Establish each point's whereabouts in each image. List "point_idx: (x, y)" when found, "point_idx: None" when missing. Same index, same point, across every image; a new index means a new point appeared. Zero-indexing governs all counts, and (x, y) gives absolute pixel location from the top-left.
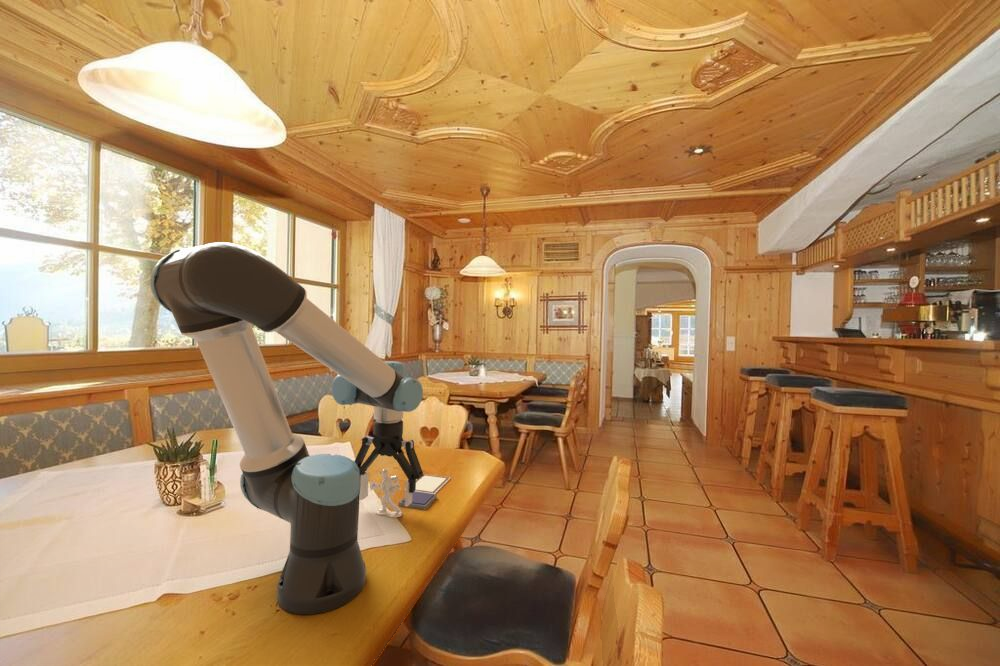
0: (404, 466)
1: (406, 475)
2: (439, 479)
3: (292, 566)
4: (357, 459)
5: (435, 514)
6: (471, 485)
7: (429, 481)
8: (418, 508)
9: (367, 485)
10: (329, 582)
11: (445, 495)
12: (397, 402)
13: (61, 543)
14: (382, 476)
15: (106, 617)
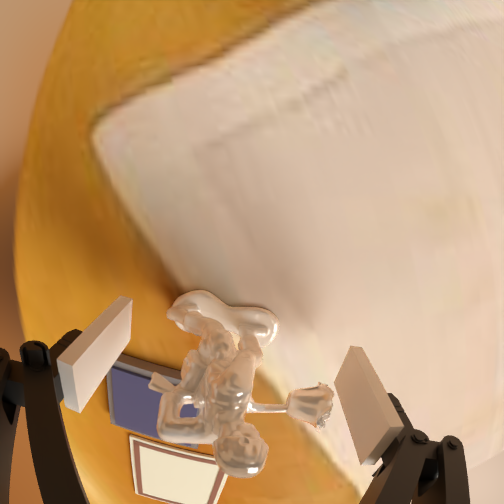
0: (35, 440)
1: (52, 390)
2: (157, 491)
3: None
4: (458, 493)
5: (71, 318)
6: (74, 456)
7: (177, 488)
8: (134, 358)
9: (348, 410)
10: None
11: (100, 426)
12: None
13: None
14: (251, 428)
15: None
